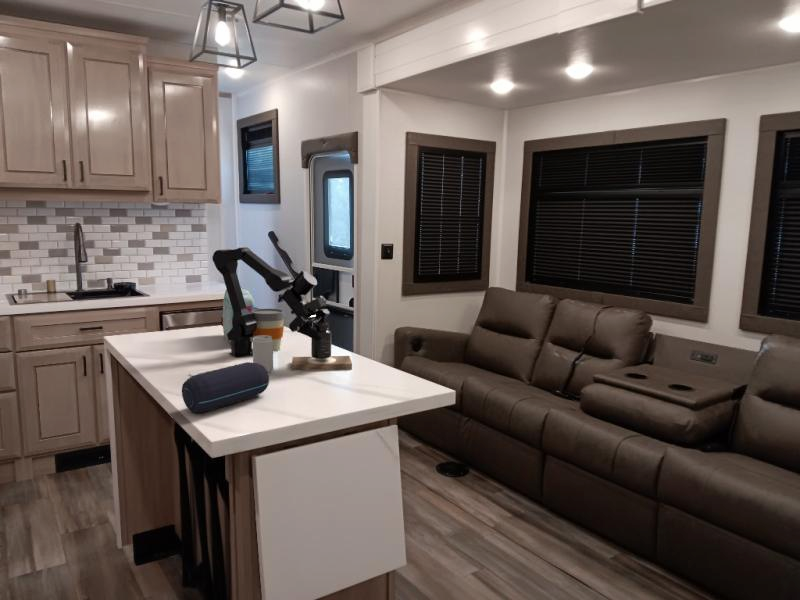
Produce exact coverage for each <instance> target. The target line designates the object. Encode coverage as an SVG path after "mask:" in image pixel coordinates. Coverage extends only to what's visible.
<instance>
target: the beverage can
mask: <svg viewBox="0 0 800 600" xmlns="http://www.w3.org/2000/svg"><path fill="white" fill-rule="evenodd" d="M252 354H253V355H252V363H258V364H260V365H262V366H264V367H265V369H266V370H267V371H268V373H269V374H271V373H272V372H273V371H274V352H273V340H272V337H271V336H269V335H259V336H255V337H254V340H253V342H252Z"/></svg>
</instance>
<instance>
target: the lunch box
mask: <svg viewBox="0 0 800 600" xmlns="http://www.w3.org/2000/svg"><path fill="white" fill-rule="evenodd" d="M240 287H241V290H242V294H243V297H244V301H245V304H246V308H247V310H248V311H249V312H250V313H251V312H252V311H253V310H255V303H254V302H255V301H254V298H253V295H252V294H250V292H248V291H247V290H246V289H242V286H240ZM222 302H223V304H222V316H221V317H220V318H221V327H222V331H223V335H224V337H225V338H226V340H227V341H228V342H229V343H230V344H231V340H228V337H227V334H228V332H229V331H230V330H231V329H232V328H233V326H232V319H233V309H232V306H231V302H230V299H229V296H228V292H227V289H225V292H224V297H223V301H222ZM249 338H250V341H251V342H252V343H253V340H254V338H253V337H249Z"/></svg>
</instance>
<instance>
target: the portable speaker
mask: <svg viewBox="0 0 800 600" xmlns="http://www.w3.org/2000/svg"><path fill="white" fill-rule="evenodd" d="M225 367H226V368H224V367H220V368H221V369H218V368H217V369H218V370H213V371H208V372H205V373H200V374H197V375H194V376H190V377H188V378H187V379H186V380H185V381H184V383H182V386H181V396H182V399H183V403H184V405H185V406H186V407H187V409H188V410H189V411H190V412H192V413H197V414H198V413H200V412H201V413H205V412H208V411H211V410H212V409H213V410H215V409H218V408H219V409H220V408H222V407H225V406H228V405H231V404H234V403H237V402H242V401H245V400H247V399H251V398H255V397H257V396H259V395H261V394H263V393H264V392H265V391H266V390H267V388H268V386H269V385H270V375H269V374H270V373H269V374H268V371H267V370H266V369H265V367H264V366H262V365H260V364H258V363H253V362H250V361H249V362H248V361H247V362H243V363H239V364H234V365H230V366H229V365H228V366H225ZM201 413H200V414H201Z"/></svg>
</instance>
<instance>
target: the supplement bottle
mask: <svg viewBox="0 0 800 600" xmlns="http://www.w3.org/2000/svg"><path fill="white" fill-rule="evenodd" d="M314 325H315V327H313V328H314V329H315V331H316V332H317V334H318V335H319V337H320V339H321V340H320V341H317V340H315V339H313V338H311V341H310V342H311V348H310V349H311V351H310V352H311V355H310V357H313V358H316V359H327V358H330V357H331V356H332V332H331V330H330V329H329V328H330V326H329V325H330V324H329V322H327V321H326V322H315V324H314ZM328 329H329V330H328Z"/></svg>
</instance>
